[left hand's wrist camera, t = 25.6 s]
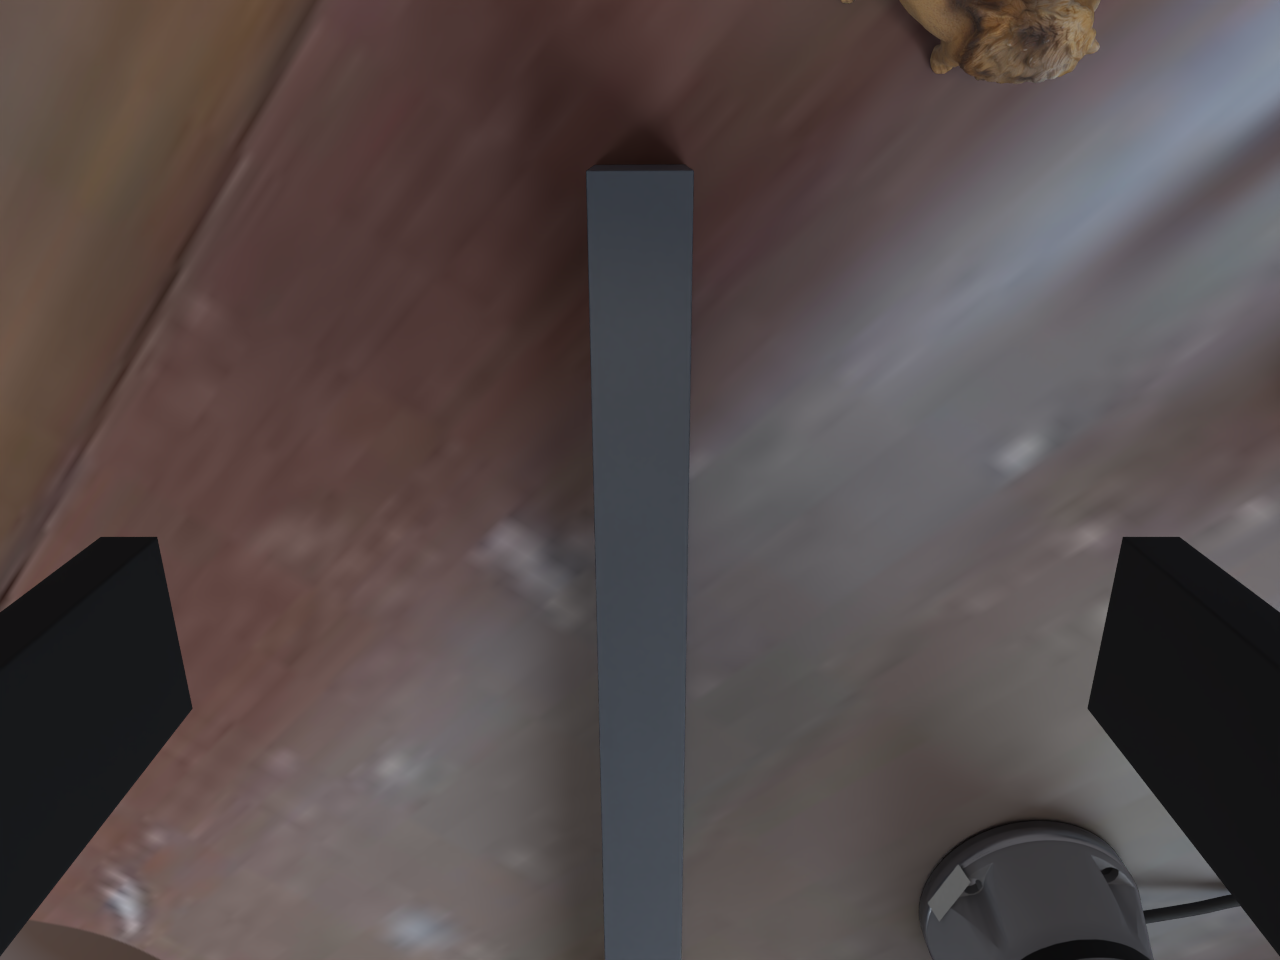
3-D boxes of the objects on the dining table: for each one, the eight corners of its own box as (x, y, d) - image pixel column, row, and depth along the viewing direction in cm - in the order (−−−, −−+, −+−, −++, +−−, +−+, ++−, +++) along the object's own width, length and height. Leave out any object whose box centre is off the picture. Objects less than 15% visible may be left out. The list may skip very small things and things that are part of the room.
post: (593, 164, 49) (586, 170, 42) (685, 164, 49) (693, 170, 42) (613, 1099, 75) (610, 1202, 68) (673, 1098, 75) (677, 1201, 68)
